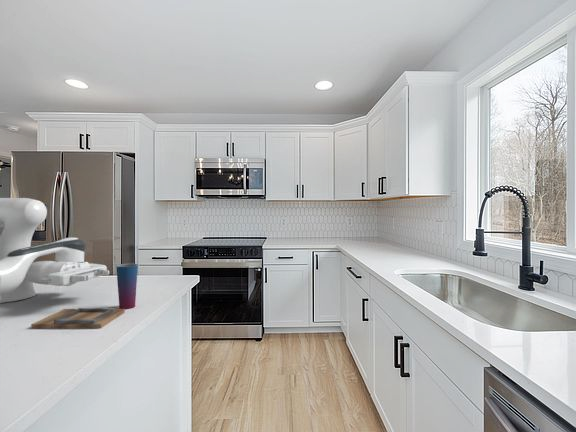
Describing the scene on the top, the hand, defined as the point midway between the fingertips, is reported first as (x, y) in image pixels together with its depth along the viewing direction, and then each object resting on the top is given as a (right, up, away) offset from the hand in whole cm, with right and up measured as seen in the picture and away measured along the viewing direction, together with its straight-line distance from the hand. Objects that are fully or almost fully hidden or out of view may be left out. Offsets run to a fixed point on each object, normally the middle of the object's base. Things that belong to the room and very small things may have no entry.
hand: (97, 275), depth 113 cm
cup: (+12, -11, -2) cm, 16 cm away
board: (+4, -11, -15) cm, 19 cm away
